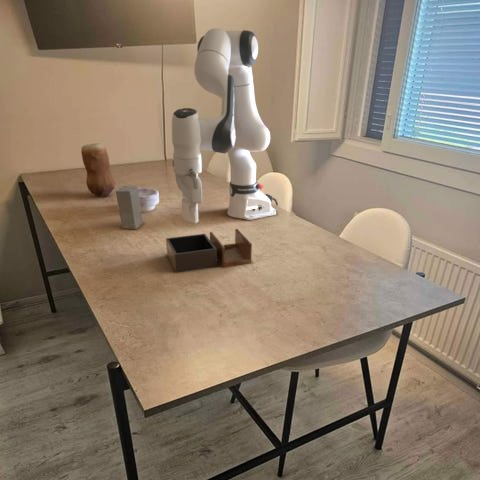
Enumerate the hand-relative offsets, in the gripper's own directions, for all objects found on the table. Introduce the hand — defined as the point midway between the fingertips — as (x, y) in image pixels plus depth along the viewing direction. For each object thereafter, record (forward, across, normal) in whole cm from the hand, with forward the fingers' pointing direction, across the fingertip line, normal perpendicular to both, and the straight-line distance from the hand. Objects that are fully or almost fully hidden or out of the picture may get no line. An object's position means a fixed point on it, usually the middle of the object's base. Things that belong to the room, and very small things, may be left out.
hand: (189, 208), depth 143 cm
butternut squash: (+19, +86, +24) cm, 91 cm away
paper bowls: (+19, +61, +8) cm, 64 cm away
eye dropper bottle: (+5, 0, 0) cm, 5 cm away
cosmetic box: (+19, +41, +16) cm, 48 cm away
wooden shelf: (+19, -1, -14) cm, 24 cm away
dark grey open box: (+19, 0, 0) cm, 19 cm away
